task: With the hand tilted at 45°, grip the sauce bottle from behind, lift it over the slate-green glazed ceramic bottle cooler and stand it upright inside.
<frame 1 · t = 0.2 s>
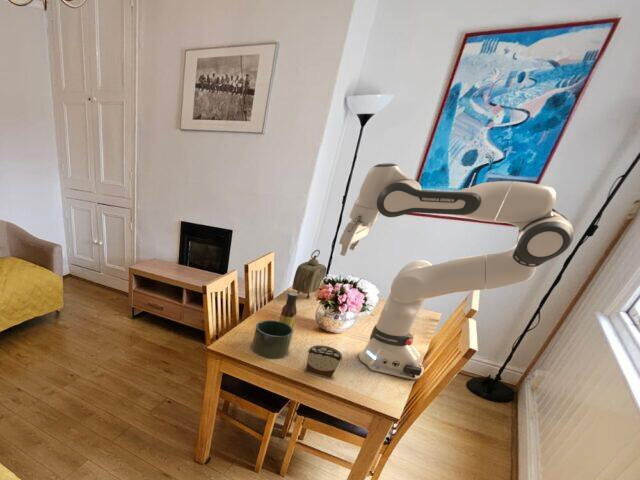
hand: (347, 252, 149), 39 cm above the table, tool pointing down, fingers open, 8 cm apart
bottle cooler: (269, 349, 167), on the table
food container: (319, 371, 153), on the table
tabletop clock: (304, 297, 212), on the table
sauce bottle: (283, 336, 176), on the table
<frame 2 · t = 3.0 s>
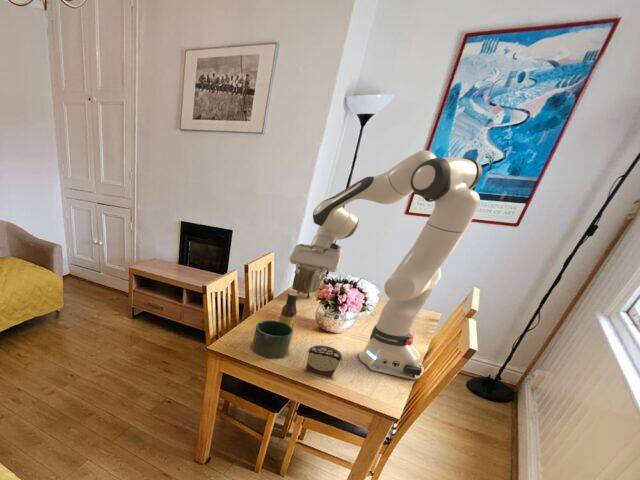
hand: (306, 275, 170), 24 cm above the table, tool tilted 45°, fingers open, 8 cm apart
nothing on the table moved.
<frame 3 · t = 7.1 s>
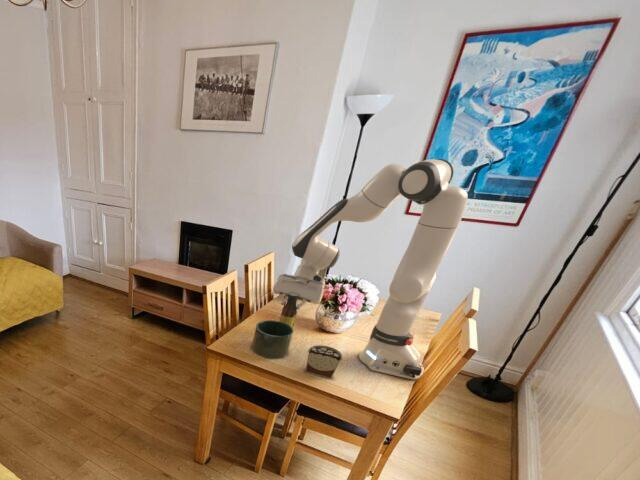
hand: (290, 306, 167), 14 cm above the table, tool tilted 45°, fingers closed on sauce bottle, 5 cm apart
sauce bottle: (283, 336, 176), on the table, touching gripper
everything else where it was.
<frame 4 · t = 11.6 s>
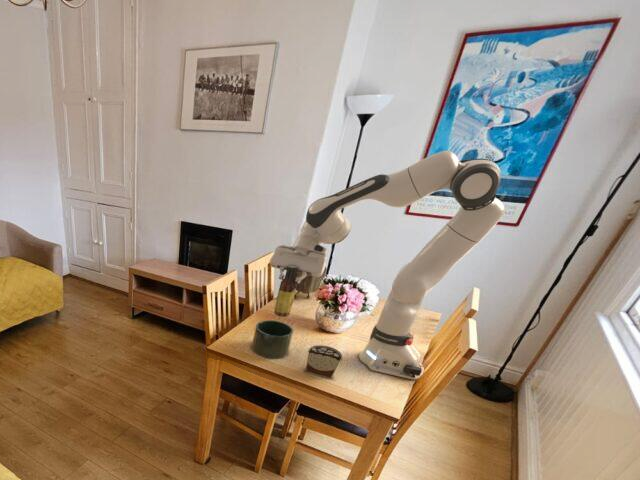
hand: (288, 280, 152), 29 cm above the table, tool tilted 45°, fingers closed on sauce bottle, 5 cm apart
sauce bottle: (281, 314, 161), point 15 cm above the table, touching gripper
everything else where it was.
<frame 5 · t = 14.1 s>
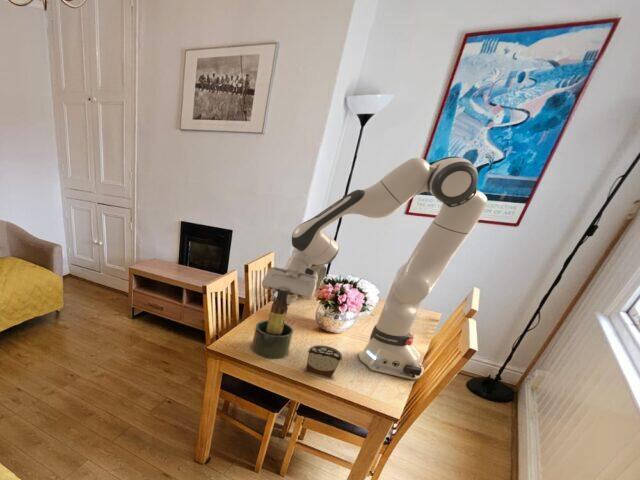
hand: (280, 302, 154), 21 cm above the table, tool tilted 45°, fingers closed on sauce bottle, 5 cm apart
sauce bottle: (272, 334, 163), point 7 cm above the table, touching gripper
everything else where it was.
when the fingers open (15 cm above the table, at t = 16.2 s): sauce bottle stays where it is, resting on bottle cooler.
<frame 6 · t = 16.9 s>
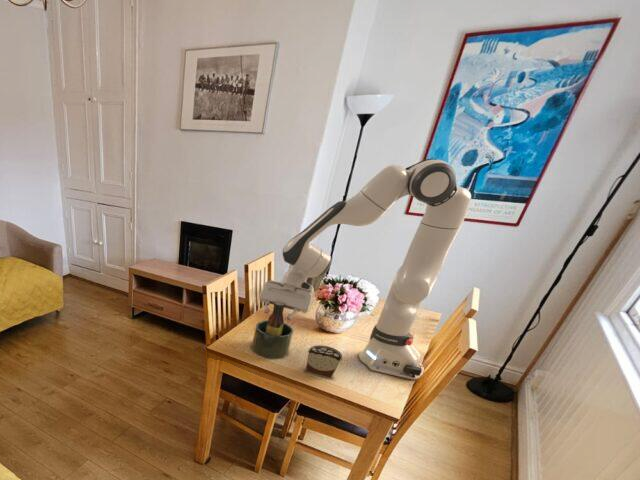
hand: (277, 315, 157), 16 cm above the table, tool tilted 45°, fingers open, 8 cm apart
sauce bottle: (269, 347, 166), point 1 cm above the table, touching bottle cooler
everything else where it was.
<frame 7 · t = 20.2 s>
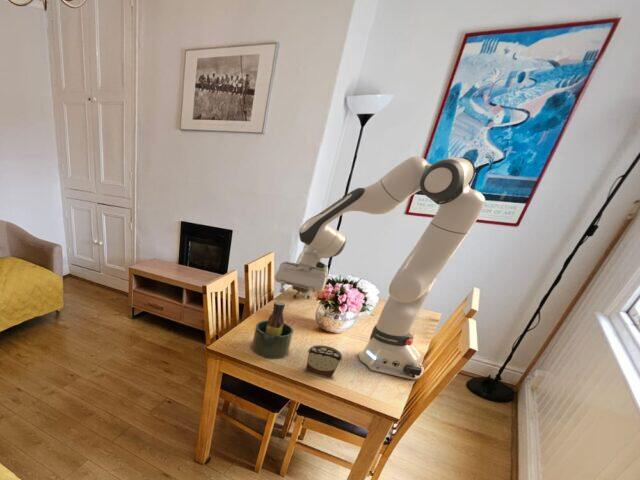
hand: (292, 295, 163), 20 cm above the table, tool tilted 45°, fingers open, 8 cm apart
nothing on the table moved.
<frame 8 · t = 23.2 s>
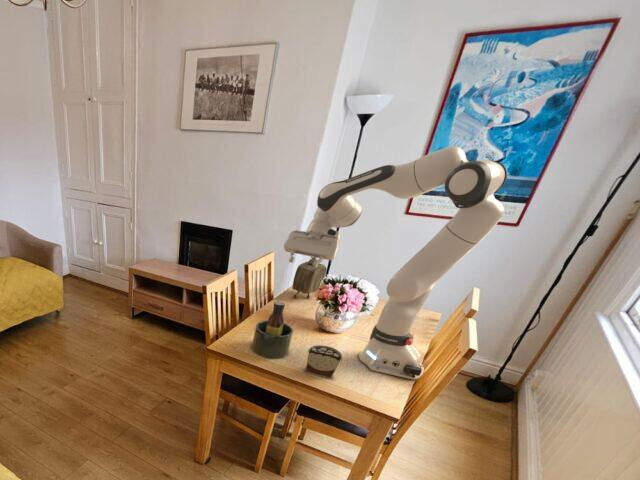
hand: (302, 264, 158), 32 cm above the table, tool tilted 45°, fingers open, 8 cm apart
nothing on the table moved.
at the end: sauce bottle 0.0 cm off-centre in the bottle cooler, point 0.8 cm above the bottle cooler's base; sauce bottle tilted 0°; the gripper is holding nothing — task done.
